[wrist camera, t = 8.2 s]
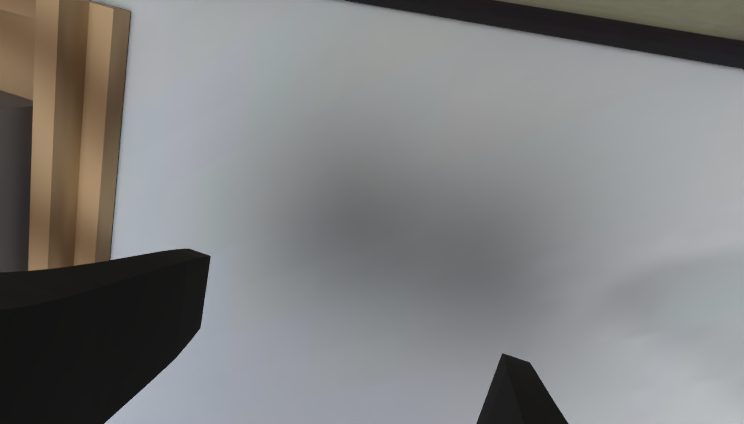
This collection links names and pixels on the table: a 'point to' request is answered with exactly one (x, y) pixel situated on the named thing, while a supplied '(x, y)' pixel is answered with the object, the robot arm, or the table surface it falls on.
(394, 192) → the table surface
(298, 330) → the table surface
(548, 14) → the picture frame
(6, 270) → the grey rectangular prism
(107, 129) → the wooden tray
